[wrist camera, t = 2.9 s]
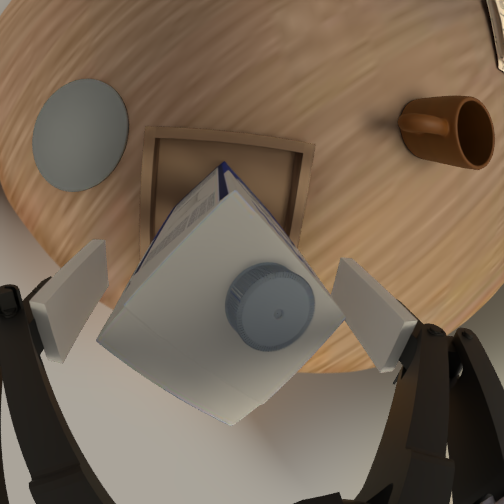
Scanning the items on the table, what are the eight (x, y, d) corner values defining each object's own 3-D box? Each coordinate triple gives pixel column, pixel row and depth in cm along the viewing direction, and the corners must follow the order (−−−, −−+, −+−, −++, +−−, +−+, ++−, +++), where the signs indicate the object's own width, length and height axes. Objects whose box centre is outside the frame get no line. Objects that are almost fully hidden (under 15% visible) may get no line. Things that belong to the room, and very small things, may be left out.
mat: (41, 87, 19) (38, 86, 19) (136, 75, 21) (134, 74, 21) (34, 190, 24) (31, 191, 23) (124, 192, 26) (122, 193, 25)
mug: (367, 157, 27) (421, 167, 19) (363, 89, 24) (416, 77, 16) (441, 160, 28) (495, 173, 20) (439, 104, 25) (494, 103, 17)
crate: (152, 128, 24) (145, 126, 21) (305, 143, 26) (315, 144, 23) (147, 270, 29) (141, 283, 26) (282, 280, 31) (288, 293, 29)
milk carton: (171, 206, 26) (91, 343, 8) (223, 159, 25) (239, 201, 7) (220, 256, 29) (233, 431, 10) (270, 213, 28) (367, 347, 9)
